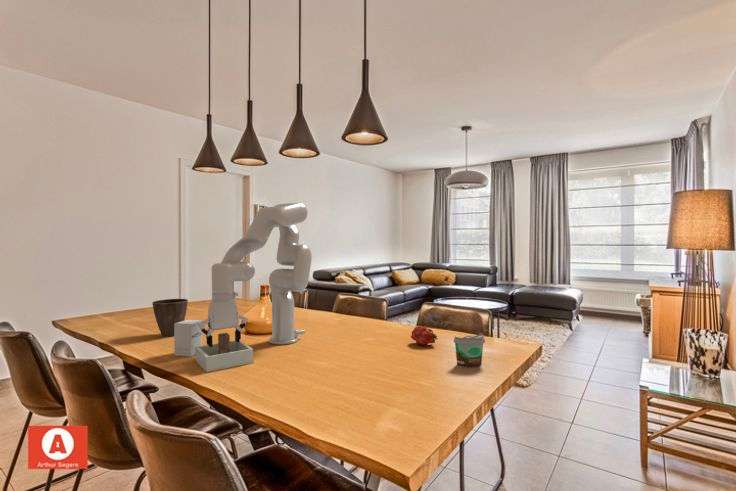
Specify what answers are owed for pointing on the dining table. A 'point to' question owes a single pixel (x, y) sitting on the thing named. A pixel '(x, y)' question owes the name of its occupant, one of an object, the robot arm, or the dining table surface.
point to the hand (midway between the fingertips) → (224, 343)
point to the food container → (469, 350)
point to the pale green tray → (223, 356)
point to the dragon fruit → (423, 335)
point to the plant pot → (169, 314)
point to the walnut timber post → (223, 343)
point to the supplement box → (187, 337)
